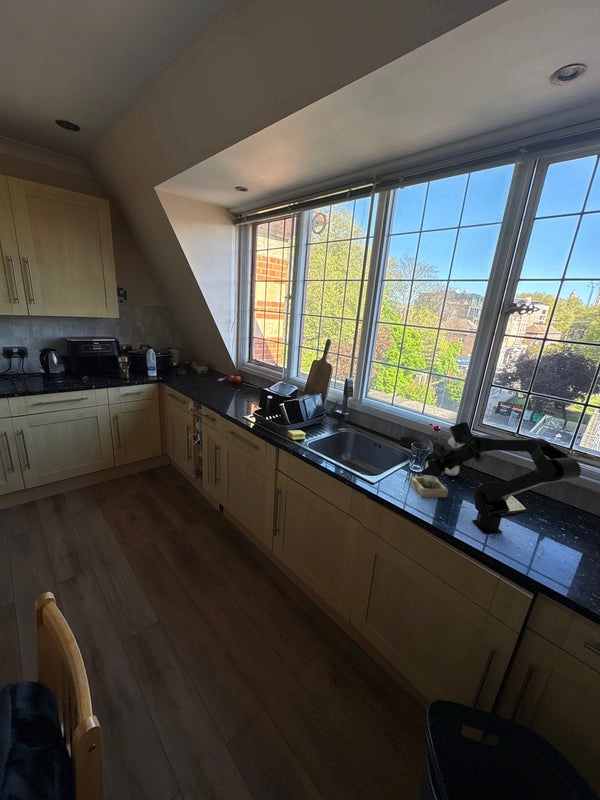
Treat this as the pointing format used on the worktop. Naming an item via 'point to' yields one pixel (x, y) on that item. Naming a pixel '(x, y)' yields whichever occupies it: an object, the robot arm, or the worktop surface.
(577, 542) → the worktop surface
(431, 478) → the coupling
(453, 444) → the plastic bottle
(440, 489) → the square wooden tray
